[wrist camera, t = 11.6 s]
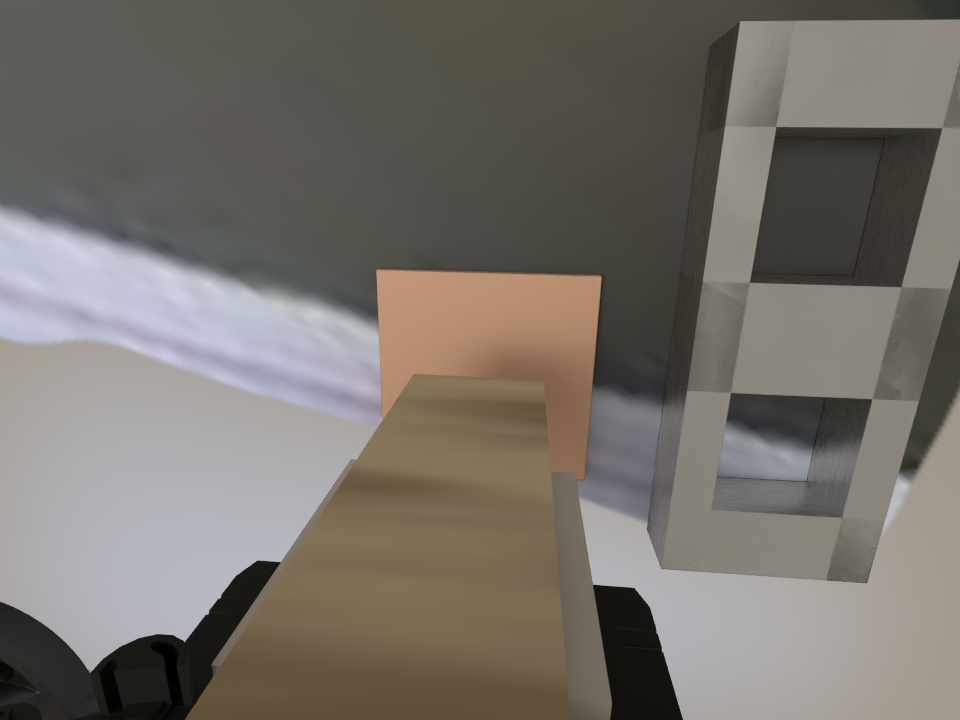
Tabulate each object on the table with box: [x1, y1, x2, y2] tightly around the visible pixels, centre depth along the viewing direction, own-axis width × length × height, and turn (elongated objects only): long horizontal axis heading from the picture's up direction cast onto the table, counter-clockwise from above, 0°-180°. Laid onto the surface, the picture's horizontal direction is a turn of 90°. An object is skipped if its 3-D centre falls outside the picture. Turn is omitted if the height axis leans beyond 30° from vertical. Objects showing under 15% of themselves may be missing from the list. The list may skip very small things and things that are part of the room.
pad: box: [377, 268, 602, 480], centre depth 25 cm, size 10×10×1 cm
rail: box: [647, 20, 960, 583], centre depth 22 cm, size 22×9×3 cm, turn 179°
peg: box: [185, 374, 570, 720], centre depth 12 cm, size 4×4×14 cm
